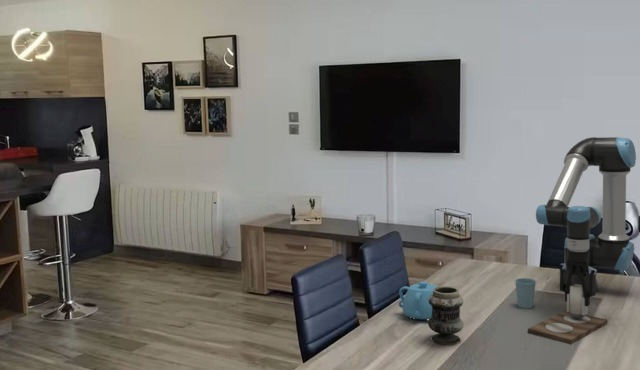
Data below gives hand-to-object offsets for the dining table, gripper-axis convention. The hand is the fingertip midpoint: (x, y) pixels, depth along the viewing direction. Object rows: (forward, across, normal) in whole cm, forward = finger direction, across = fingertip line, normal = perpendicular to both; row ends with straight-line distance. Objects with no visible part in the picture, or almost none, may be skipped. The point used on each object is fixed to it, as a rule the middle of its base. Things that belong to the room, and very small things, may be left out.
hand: (577, 312), depth 239 cm
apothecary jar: (+4, -25, -44) cm, 51 cm away
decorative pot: (+4, -46, -30) cm, 55 cm away
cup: (+4, -24, +6) cm, 25 cm away
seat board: (+4, 0, -6) cm, 8 cm away
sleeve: (+1, 0, 0) cm, 1 cm away
